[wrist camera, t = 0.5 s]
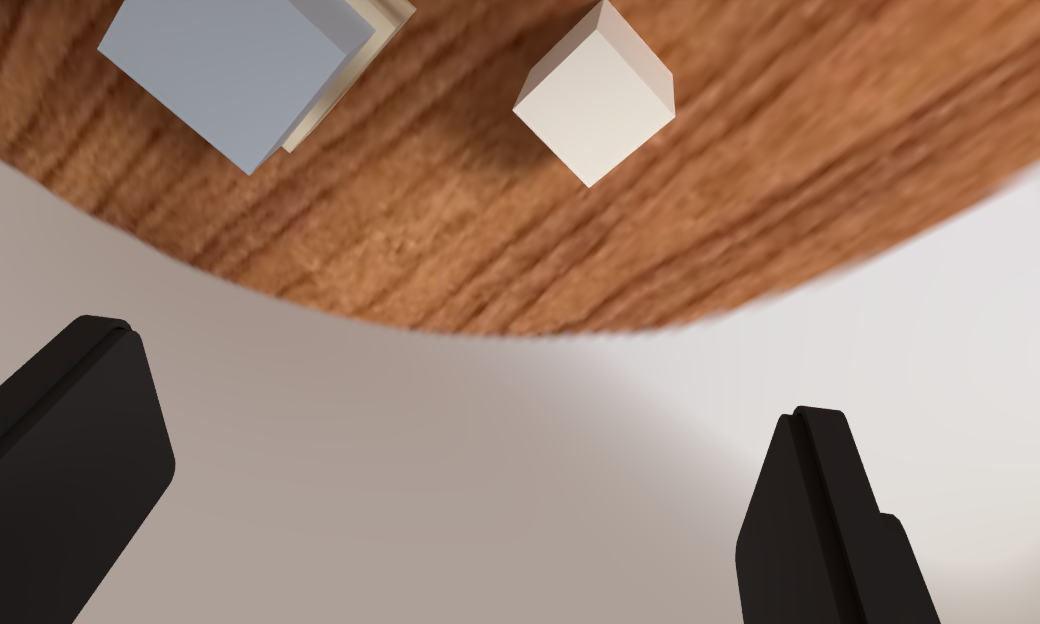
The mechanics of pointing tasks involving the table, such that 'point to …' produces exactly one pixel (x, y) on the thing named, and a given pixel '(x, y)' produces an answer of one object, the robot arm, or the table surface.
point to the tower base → (357, 58)
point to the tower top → (237, 64)
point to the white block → (597, 94)
